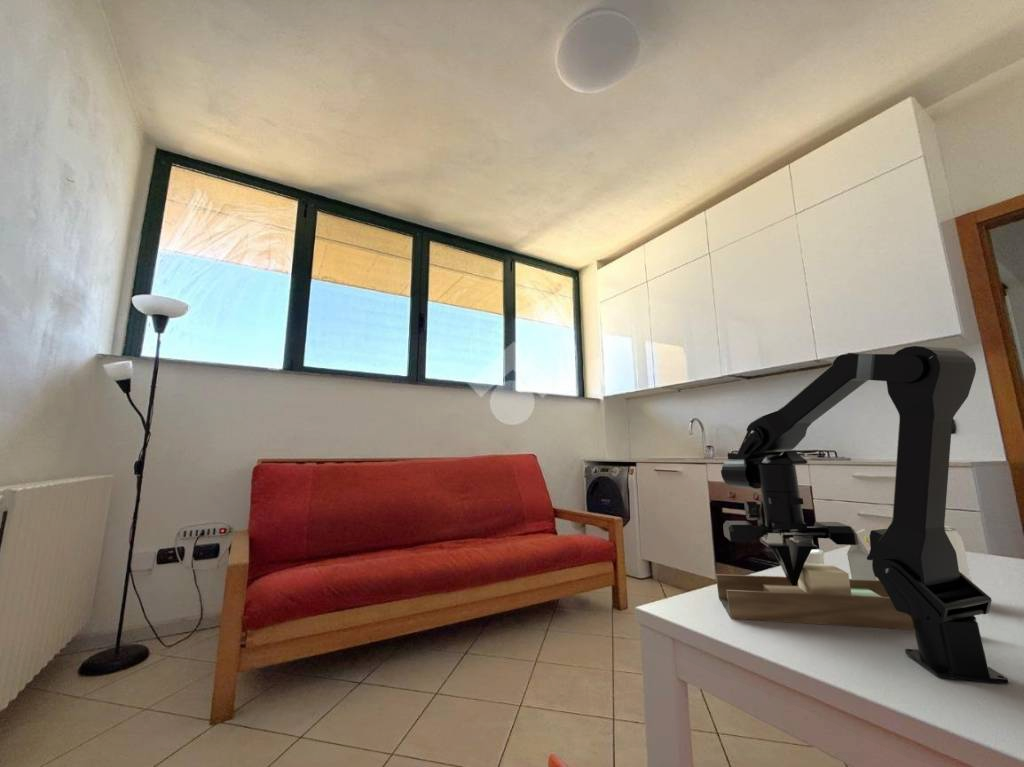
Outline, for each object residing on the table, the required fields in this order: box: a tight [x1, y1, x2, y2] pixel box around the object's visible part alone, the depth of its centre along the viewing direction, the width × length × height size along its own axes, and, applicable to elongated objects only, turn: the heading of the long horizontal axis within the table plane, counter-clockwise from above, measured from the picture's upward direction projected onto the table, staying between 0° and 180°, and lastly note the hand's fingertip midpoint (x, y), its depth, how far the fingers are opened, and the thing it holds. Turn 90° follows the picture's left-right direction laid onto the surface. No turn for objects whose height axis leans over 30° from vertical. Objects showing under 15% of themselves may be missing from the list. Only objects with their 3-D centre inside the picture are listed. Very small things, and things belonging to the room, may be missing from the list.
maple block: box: [798, 563, 851, 595], centre depth 68 cm, size 6×6×4 cm
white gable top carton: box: [846, 528, 879, 580], centre depth 82 cm, size 4×7×10 cm, turn 126°
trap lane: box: [715, 573, 914, 631], centre depth 67 cm, size 10×30×4 cm, turn 73°
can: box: [944, 525, 973, 583], centre depth 72 cm, size 6×6×12 cm
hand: (793, 585), depth 69 cm, fingers closed
